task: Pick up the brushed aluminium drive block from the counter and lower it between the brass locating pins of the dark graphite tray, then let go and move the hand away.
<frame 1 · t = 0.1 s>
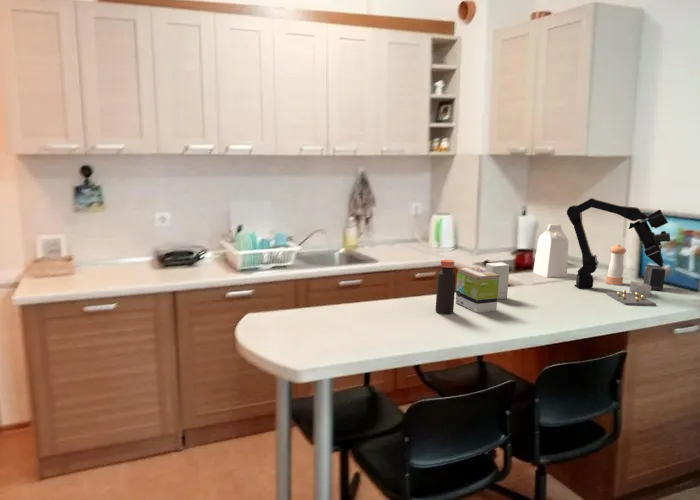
hand: (662, 264, 261), 15 cm above the table, tool tilted 35°, fingers open, 9 cm apart
tea box: (475, 307, 237), on the table
skincare box: (495, 298, 253), on the table
drive block: (639, 294, 270), on the table
pin tray: (630, 300, 258), on the table
milk: (549, 274, 306), on the table
small box: (652, 288, 283), on the table
pepper shaker: (614, 283, 290), on the table
bottle: (444, 312, 227), on the table
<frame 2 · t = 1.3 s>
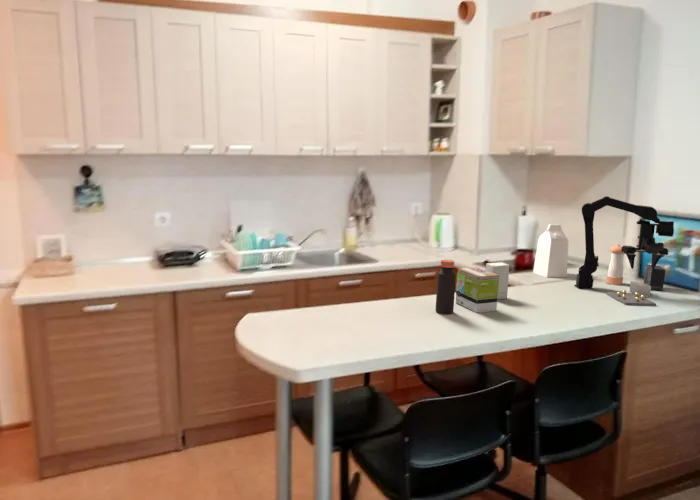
hand: (642, 269, 268), 12 cm above the table, tool pointing down, fingers open, 9 cm apart
nothing on the table moved.
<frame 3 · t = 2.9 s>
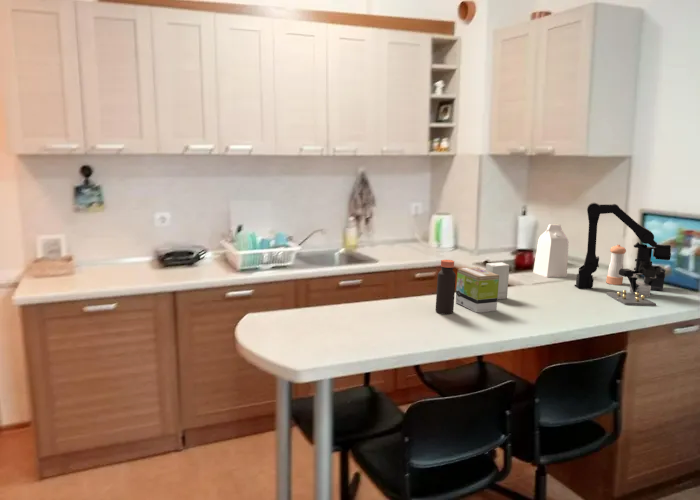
hand: (639, 291, 270), 1 cm above the table, tool pointing down, fingers closed on drive block, 5 cm apart
drive block: (639, 294, 270), on the table, touching gripper
everything else where it was.
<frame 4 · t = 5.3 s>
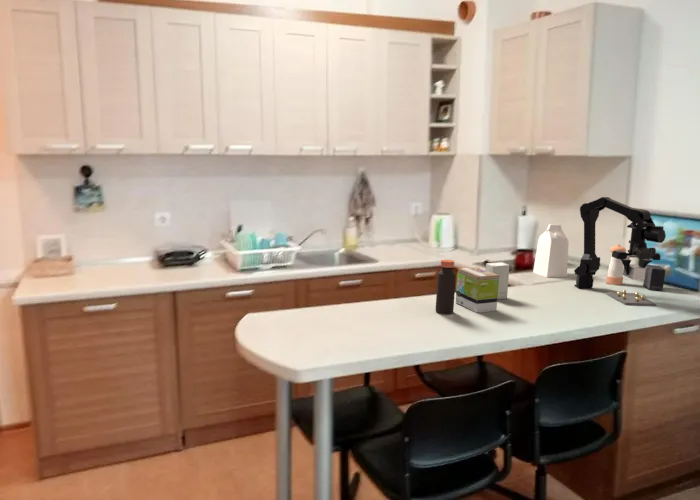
hand: (633, 275, 256), 11 cm above the table, tool pointing down, fingers closed on drive block, 5 cm apart
drive block: (633, 277, 256), point 10 cm above the table, touching gripper
everything else where it was.
when the fingers open (4 cm above the table, at t = 8.1 s): drive block drops 2 cm, resting on pin tray.
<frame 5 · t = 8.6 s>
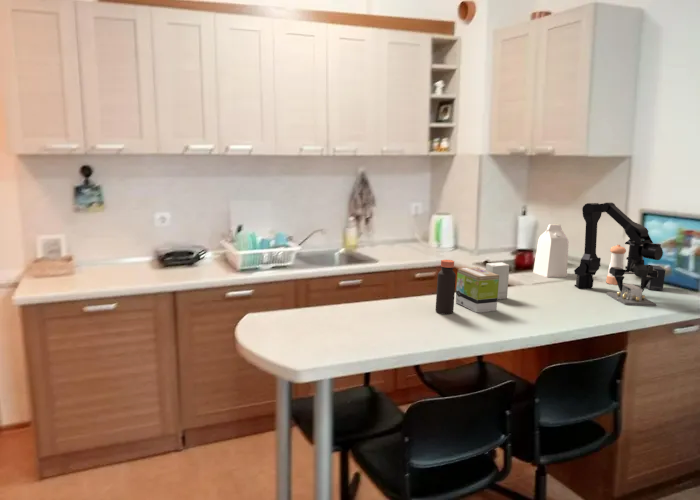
hand: (631, 291, 257), 4 cm above the table, tool pointing down, fingers open, 9 cm apart
drive block: (630, 297, 258), point 1 cm above the table, touching pin tray
everything else where it was.
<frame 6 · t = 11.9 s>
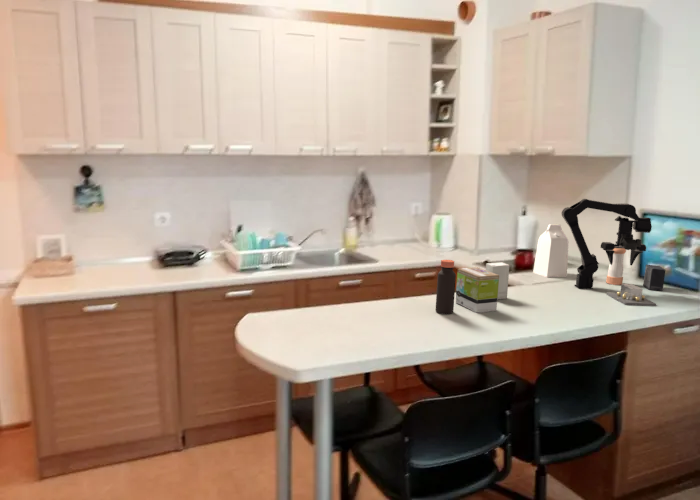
hand: (621, 264, 273), 12 cm above the table, tool pointing down, fingers open, 9 cm apart
nothing on the table moved.
at the end: drive block 0.0 cm off-centre on the pin tray, point 1.0 cm above the pin tray's base; drive block tilted 0°; the gripper is holding nothing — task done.
